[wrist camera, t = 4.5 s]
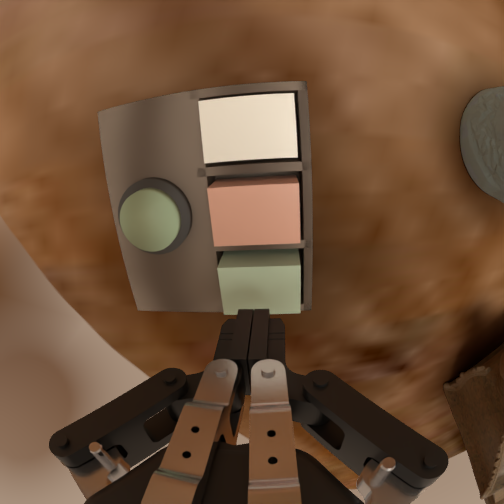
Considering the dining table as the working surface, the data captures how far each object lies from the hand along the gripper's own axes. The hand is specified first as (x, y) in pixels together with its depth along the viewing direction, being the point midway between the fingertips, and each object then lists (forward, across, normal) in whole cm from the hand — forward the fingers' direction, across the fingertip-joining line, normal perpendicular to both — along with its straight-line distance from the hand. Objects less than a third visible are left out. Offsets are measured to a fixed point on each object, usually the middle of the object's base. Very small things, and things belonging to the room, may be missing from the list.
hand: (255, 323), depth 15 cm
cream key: (+5, 0, -9) cm, 10 cm away
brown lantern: (+8, -30, +18) cm, 36 cm away
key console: (+7, +2, -4) cm, 9 cm away
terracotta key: (+5, 0, -4) cm, 7 cm away
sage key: (+5, 0, 0) cm, 5 cm away
